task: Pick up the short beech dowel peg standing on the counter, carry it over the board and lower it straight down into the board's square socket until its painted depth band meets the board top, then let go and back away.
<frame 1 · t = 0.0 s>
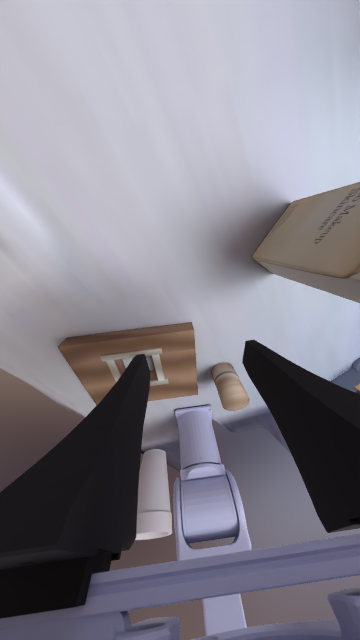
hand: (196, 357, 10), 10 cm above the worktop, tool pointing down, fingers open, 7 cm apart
peg: (222, 370, 26), on the worktop
foam cup: (154, 453, 41), on the worktop
skincare box: (280, 243, 16), on the worktop
socket board: (141, 364, 24), on the worktop
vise: (335, 385, 31), on the worktop
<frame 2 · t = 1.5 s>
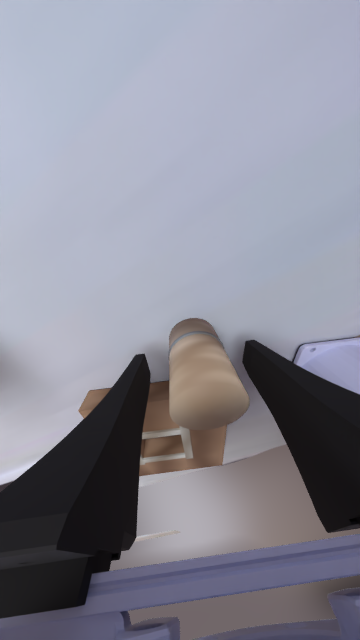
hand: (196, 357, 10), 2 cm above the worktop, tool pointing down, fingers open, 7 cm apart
peg: (192, 338, 12), on the worktop
socket board: (168, 426, 19), on the worktop
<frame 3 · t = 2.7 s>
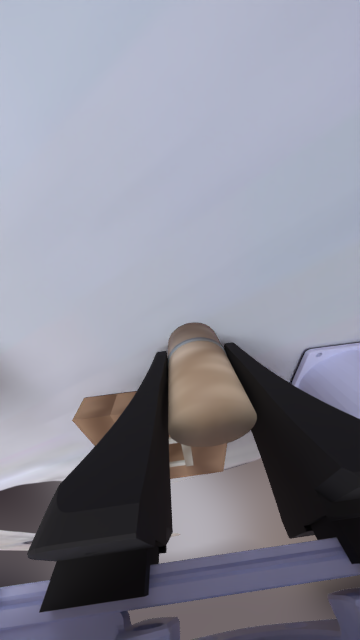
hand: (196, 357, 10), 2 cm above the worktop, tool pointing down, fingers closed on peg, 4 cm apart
peg: (192, 343, 12), on the worktop, touching gripper
socket board: (168, 432, 18), on the worktop
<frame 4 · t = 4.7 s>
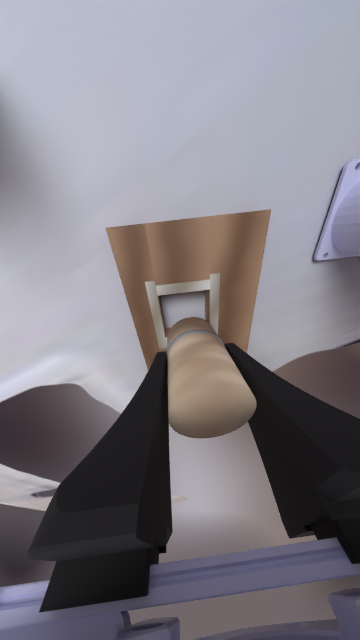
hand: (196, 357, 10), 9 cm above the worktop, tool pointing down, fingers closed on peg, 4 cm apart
peg: (191, 339, 12), point 7 cm above the worktop, touching gripper
socket board: (191, 307, 18), on the worktop
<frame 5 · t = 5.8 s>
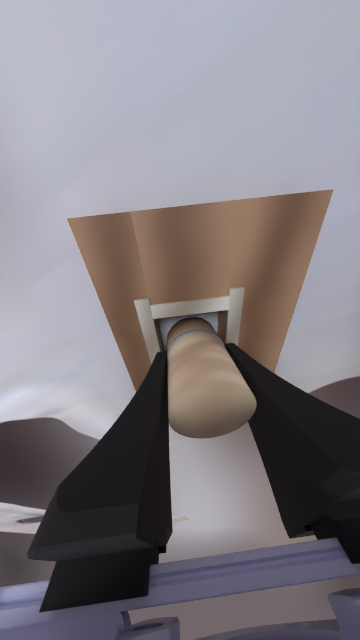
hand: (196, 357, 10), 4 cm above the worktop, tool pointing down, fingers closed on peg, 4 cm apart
peg: (191, 339, 12), point 2 cm above the worktop, touching gripper
socket board: (199, 328, 13), on the worktop
when the fingers open (3 cm above the worktop, at t = 6.8 s): peg drops 1 cm, resting in socket board.
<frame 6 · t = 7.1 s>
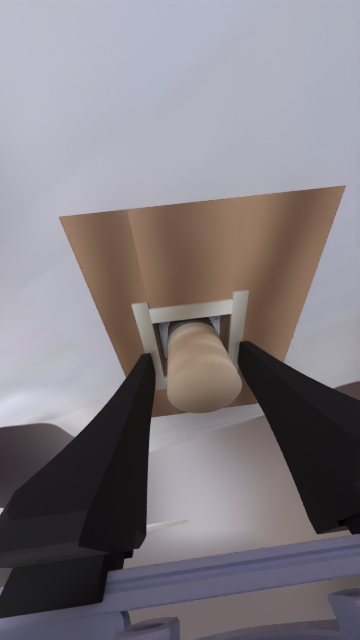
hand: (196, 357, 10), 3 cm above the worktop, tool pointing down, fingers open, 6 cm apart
peg: (190, 330, 13), resting in socket board
socket board: (201, 332, 13), on the worktop
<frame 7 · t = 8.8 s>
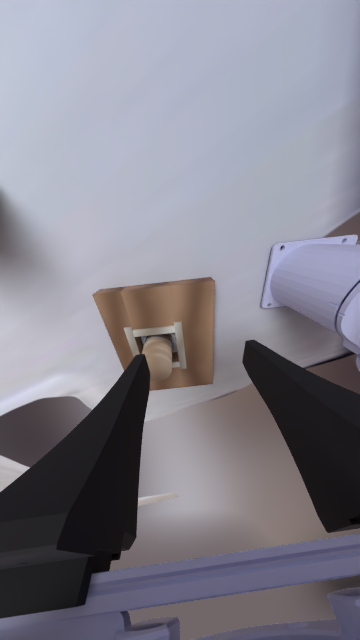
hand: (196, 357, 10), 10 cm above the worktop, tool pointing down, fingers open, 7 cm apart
peg: (159, 339, 22), resting in socket board
socket board: (165, 340, 22), on the worktop
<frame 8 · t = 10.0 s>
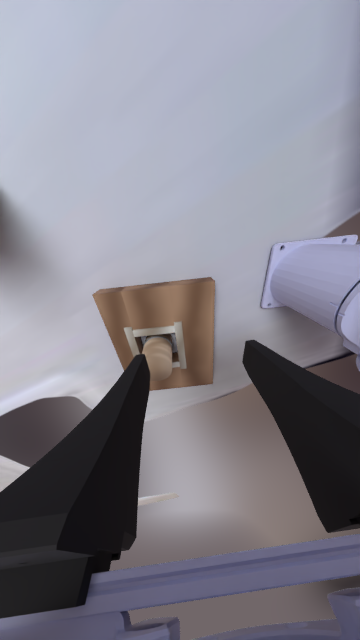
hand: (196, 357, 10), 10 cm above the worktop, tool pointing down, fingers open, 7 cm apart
peg: (159, 339, 22), resting in socket board
socket board: (165, 340, 22), on the worktop
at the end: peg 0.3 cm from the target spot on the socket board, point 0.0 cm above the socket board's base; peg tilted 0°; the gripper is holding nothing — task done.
